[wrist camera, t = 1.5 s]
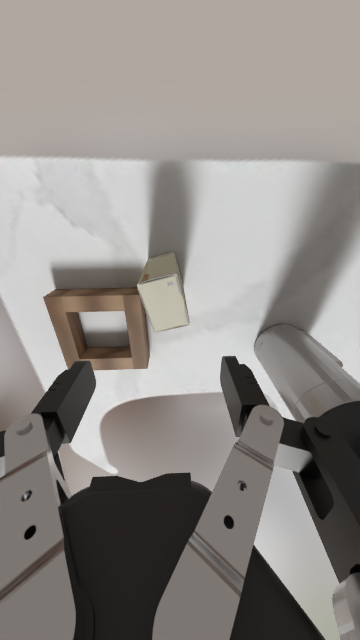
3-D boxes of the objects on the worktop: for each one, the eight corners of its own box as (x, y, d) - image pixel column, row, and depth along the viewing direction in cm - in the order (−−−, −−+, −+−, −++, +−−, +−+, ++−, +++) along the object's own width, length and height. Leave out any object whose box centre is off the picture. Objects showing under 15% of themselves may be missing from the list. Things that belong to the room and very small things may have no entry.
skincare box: (147, 258, 30) (133, 280, 20) (174, 250, 30) (176, 269, 19) (159, 296, 33) (153, 334, 22) (184, 290, 33) (190, 325, 22)
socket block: (142, 287, 32) (139, 294, 29) (149, 356, 39) (147, 368, 36) (55, 289, 32) (43, 297, 29) (77, 358, 39) (68, 371, 35)
